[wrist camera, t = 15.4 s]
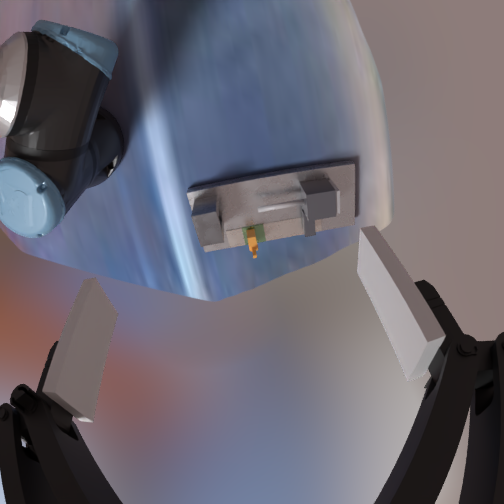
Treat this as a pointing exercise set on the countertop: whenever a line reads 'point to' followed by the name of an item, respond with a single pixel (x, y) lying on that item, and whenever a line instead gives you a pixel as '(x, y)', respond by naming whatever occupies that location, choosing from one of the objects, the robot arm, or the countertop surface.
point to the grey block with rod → (313, 203)
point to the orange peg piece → (252, 241)
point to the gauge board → (265, 193)
